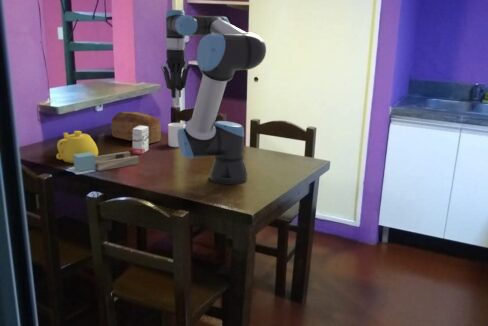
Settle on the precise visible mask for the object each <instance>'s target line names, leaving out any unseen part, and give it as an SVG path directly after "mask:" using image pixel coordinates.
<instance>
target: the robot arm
mask: <svg viewBox="0 0 488 326" xmlns="http://www.w3.org/2000/svg"><path fill="white" fill-rule="evenodd" d="M165 33H166V34H165V35H166V37H165V38H166V42H165V43H166V48H167V49H166V63H165V64H164V65H161V66H160V68H161V70H162V71H163V76H164V80H165V85H166V88H167V90H170V92H171V95H170V96H171V98H172V105H173V106H175V107H180V98H181V97H182V91H183V89H185V88H186V83H187V79H188V74H189V70H190V69H191V65H189V64H187V63H186V61H185V58H186V55H185V54H186V51H185V48H186V43H185V42H186V41H185V40H186V37H187V36H203V37H202V38H201V39H200V41H199V43H198V45H197V48H196V49H197V50H196V54H197V55H196V64H197V66H198V67H199V70H200V72H201V73H202V77H201V80H200V85H199V88H198V93H197V95H196V100H195V103H194V108H193V111H192V112H193V113H192V116H191V118H190V119H189V120H188V121H186V123H185V125H186V126H185V128H181V129H179V130H178V144H179V147H178V148H179V150H180V154H181V155H182V157H183V158H186V159H196V158H207V157H214V161H213V163H212V165H211V166H212V167H211V169H210V172H209V179H210V181H212V182H214V183H217V184H222V185H236V184H238V185H239V184H241V183H244V182H246V181H247V180H248V171H247V170H246V169H247V168H246V166H245V162H244V153H245V152H244V151H245V149H244V148H245V129H244V126H243V125H241V124H240V123H236V122H232V121H225V120H224V121H223V120H217V121H216V119H217V117H218V112H219V109H220V105H221V102H222V99H223V96H224V92H225V89H226V87H227V83H228V82H230V81H231V80H232V79H233V77H234V75H235V73H236V71H244V70H245V71H248V70H252V69H255V68H256V67H258V66H259V65H261V63H262V62H263V61H264V59H265V57H266V54H267V46H266V43H265V41H264V40H263V38H261V36H260V35H258V34H255V33H254V32H251V31H250V32H246V31H244V30H242V29H241V28H238V27H236V26H235V25H233V24H231V23H230V21H229V19H228V17H226V16H222V15H214V16H213V15H189V14H186V13H185V11H184V9H167V10H166V12H165Z"/></svg>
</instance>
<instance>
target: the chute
mask: <svg viewBox="0 0 488 326" xmlns="http://www.w3.org/2000/svg"><path fill="white" fill-rule="evenodd" d="M139 163H140V162H139V156H138V155H133V156H131V152H130V151H122V152H121V151H120V152H115V153H108V154H102V155H97V156H95V166H97V171H98V172H101V171H107V170H112V169H113V170H114V169H117V168H118V169H119V168H124V167H130V166H137V165H139Z"/></svg>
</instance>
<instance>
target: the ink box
mask: <svg viewBox="0 0 488 326" xmlns="http://www.w3.org/2000/svg"><path fill="white" fill-rule="evenodd" d="M148 151H149V144H148V126H137V127H135V128H133V141H132V154H137V155H142V154H144V153H146V152H148Z"/></svg>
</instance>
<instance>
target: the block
mask: <svg viewBox="0 0 488 326" xmlns="http://www.w3.org/2000/svg"><path fill="white" fill-rule="evenodd" d="M73 157H74V163H73V167H74V168H75V169H76V170H77V171H79V172H80V171H86V170H92V169H93V170H95V169H96V165H95V155H94V154H92V153H90V152H87V153H80V154H73Z"/></svg>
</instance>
